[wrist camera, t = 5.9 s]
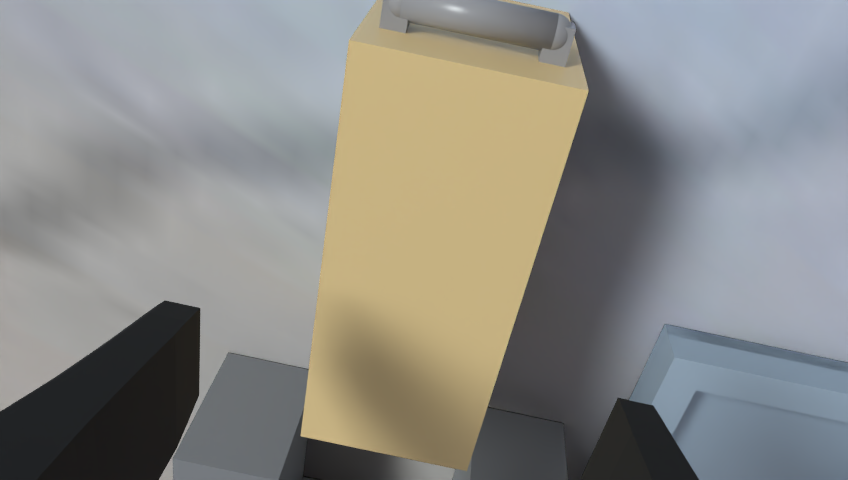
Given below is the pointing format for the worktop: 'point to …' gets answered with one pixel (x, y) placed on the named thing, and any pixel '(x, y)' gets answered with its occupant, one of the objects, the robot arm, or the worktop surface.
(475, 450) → the dock
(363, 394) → the tan block with handle
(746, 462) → the tray
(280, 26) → the worktop surface
